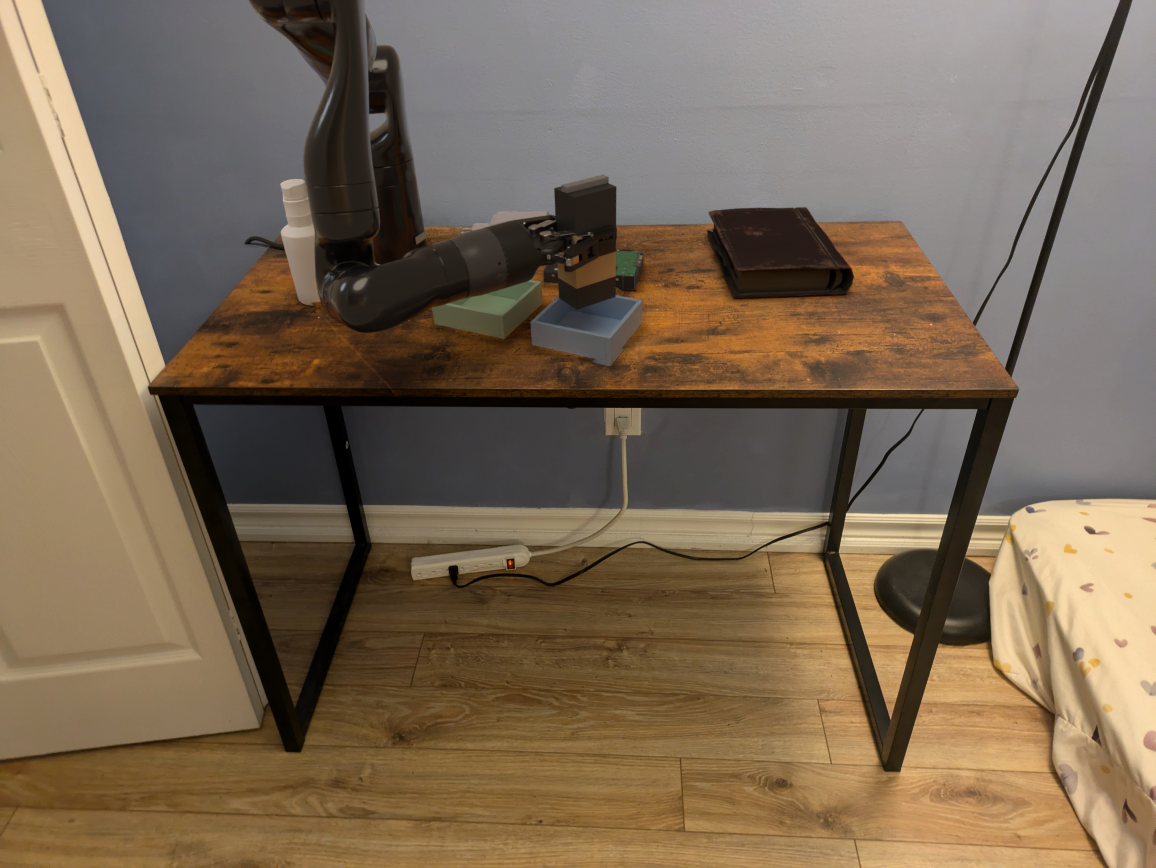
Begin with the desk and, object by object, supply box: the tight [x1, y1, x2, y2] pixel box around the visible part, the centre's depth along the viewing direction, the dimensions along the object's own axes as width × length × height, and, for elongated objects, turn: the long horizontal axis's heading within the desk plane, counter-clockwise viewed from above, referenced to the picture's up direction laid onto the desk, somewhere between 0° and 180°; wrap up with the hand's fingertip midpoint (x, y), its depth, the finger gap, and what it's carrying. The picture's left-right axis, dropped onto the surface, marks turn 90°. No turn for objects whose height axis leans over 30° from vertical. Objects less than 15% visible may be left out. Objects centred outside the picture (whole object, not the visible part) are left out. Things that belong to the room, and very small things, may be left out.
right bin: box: [529, 294, 644, 367], centre depth 106 cm, size 12×12×4 cm
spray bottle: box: [279, 178, 321, 307], centre depth 115 cm, size 7×7×18 cm
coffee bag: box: [553, 174, 617, 310], centre depth 99 cm, size 4×6×16 cm
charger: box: [460, 210, 550, 234], centre depth 134 cm, size 5×9×15 cm
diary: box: [706, 206, 855, 299], centre depth 124 cm, size 19×25×5 cm
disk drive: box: [542, 248, 645, 291], centre depth 123 cm, size 10×3×15 cm
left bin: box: [431, 279, 544, 340], centre depth 112 cm, size 12×12×4 cm
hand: (602, 227), depth 99 cm, fingers closed on coffee bag, 4 cm apart
